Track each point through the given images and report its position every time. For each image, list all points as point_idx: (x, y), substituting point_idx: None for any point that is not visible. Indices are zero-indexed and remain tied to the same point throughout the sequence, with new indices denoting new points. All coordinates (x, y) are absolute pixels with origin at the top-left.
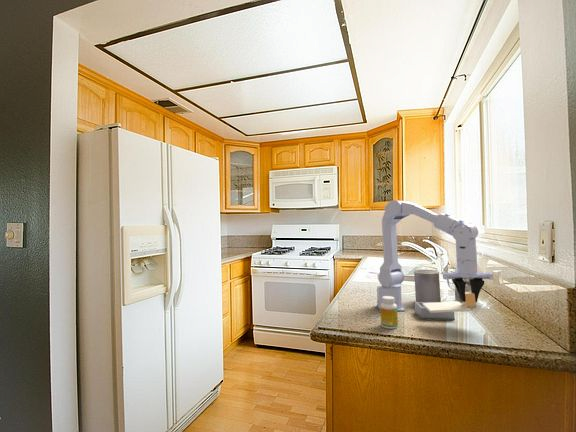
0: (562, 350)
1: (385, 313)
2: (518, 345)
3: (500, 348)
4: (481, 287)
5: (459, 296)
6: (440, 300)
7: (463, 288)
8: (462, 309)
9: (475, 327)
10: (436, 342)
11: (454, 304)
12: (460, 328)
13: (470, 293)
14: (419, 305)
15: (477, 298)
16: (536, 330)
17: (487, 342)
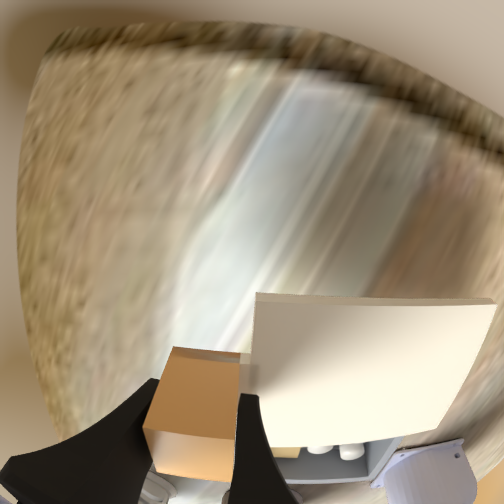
0: (39, 72)
1: None
2: (139, 79)
3: (238, 37)
4: (54, 446)
5: (157, 501)
6: (226, 502)
7: (251, 490)
8: (314, 301)
9: (208, 299)
10: (478, 123)
11: (300, 405)
12: (292, 288)
13: (174, 444)
14: (390, 451)
15: (135, 393)
16: (17, 255)
17: (258, 98)
